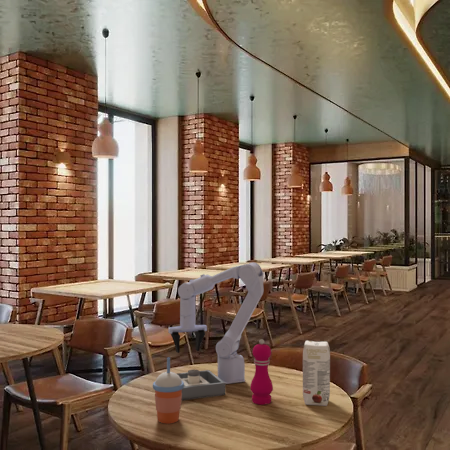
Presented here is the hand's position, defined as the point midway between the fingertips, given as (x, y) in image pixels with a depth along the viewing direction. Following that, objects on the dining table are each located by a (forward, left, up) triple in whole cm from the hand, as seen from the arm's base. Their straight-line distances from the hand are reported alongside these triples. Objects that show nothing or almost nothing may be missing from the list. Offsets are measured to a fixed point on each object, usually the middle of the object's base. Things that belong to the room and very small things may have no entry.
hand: (187, 351), depth 189 cm
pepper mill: (-14, +34, -10) cm, 38 cm away
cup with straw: (+18, +38, -10) cm, 43 cm away
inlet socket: (+3, +16, -9) cm, 19 cm away
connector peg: (+3, +16, -9) cm, 19 cm away
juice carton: (-30, +41, -10) cm, 52 cm away
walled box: (+3, +16, -9) cm, 19 cm away
